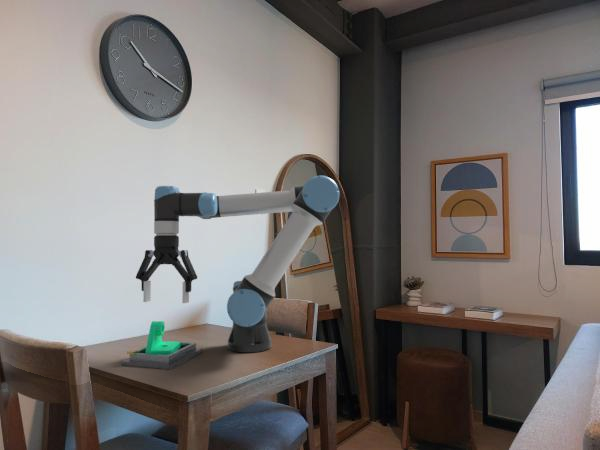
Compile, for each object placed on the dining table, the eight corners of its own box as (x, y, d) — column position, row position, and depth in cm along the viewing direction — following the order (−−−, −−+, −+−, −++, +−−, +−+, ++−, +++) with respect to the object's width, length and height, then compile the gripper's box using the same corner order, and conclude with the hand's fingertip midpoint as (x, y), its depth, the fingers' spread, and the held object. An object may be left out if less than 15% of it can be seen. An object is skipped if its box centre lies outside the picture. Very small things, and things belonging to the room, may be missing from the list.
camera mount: (171, 359, 129) (171, 325, 129) (145, 359, 128) (146, 325, 129) (181, 349, 141) (181, 318, 141) (157, 349, 140) (158, 318, 141)
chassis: (202, 352, 142) (202, 340, 142) (170, 369, 123) (170, 355, 123) (159, 348, 146) (159, 337, 146) (121, 365, 127) (122, 352, 127)
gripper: (207, 234, 137) (207, 301, 136) (138, 235, 143) (138, 299, 142) (197, 234, 129) (196, 304, 129) (124, 235, 135) (124, 302, 134)
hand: (166, 302), depth 135 cm, fingers open, 13 cm apart
